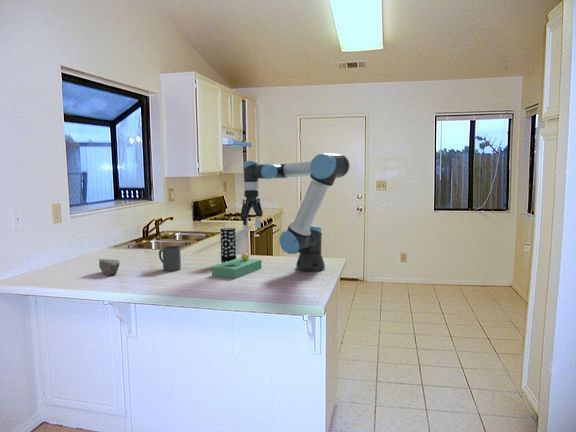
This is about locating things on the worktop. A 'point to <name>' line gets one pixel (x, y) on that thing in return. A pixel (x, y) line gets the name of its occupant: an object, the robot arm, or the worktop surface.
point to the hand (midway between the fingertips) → (252, 229)
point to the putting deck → (236, 268)
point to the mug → (171, 258)
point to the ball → (245, 256)
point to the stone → (109, 266)
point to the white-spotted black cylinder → (228, 244)
